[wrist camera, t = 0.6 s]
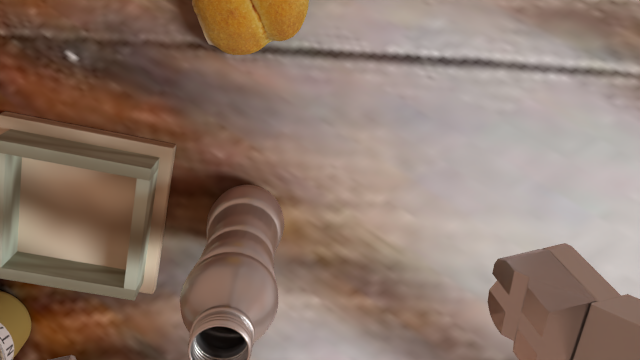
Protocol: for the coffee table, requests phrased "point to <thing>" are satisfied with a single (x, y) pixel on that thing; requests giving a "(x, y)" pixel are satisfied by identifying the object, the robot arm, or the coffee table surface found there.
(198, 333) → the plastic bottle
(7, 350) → the paper tube
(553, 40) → the coffee table surface
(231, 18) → the bread roll
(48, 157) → the bottle stand
